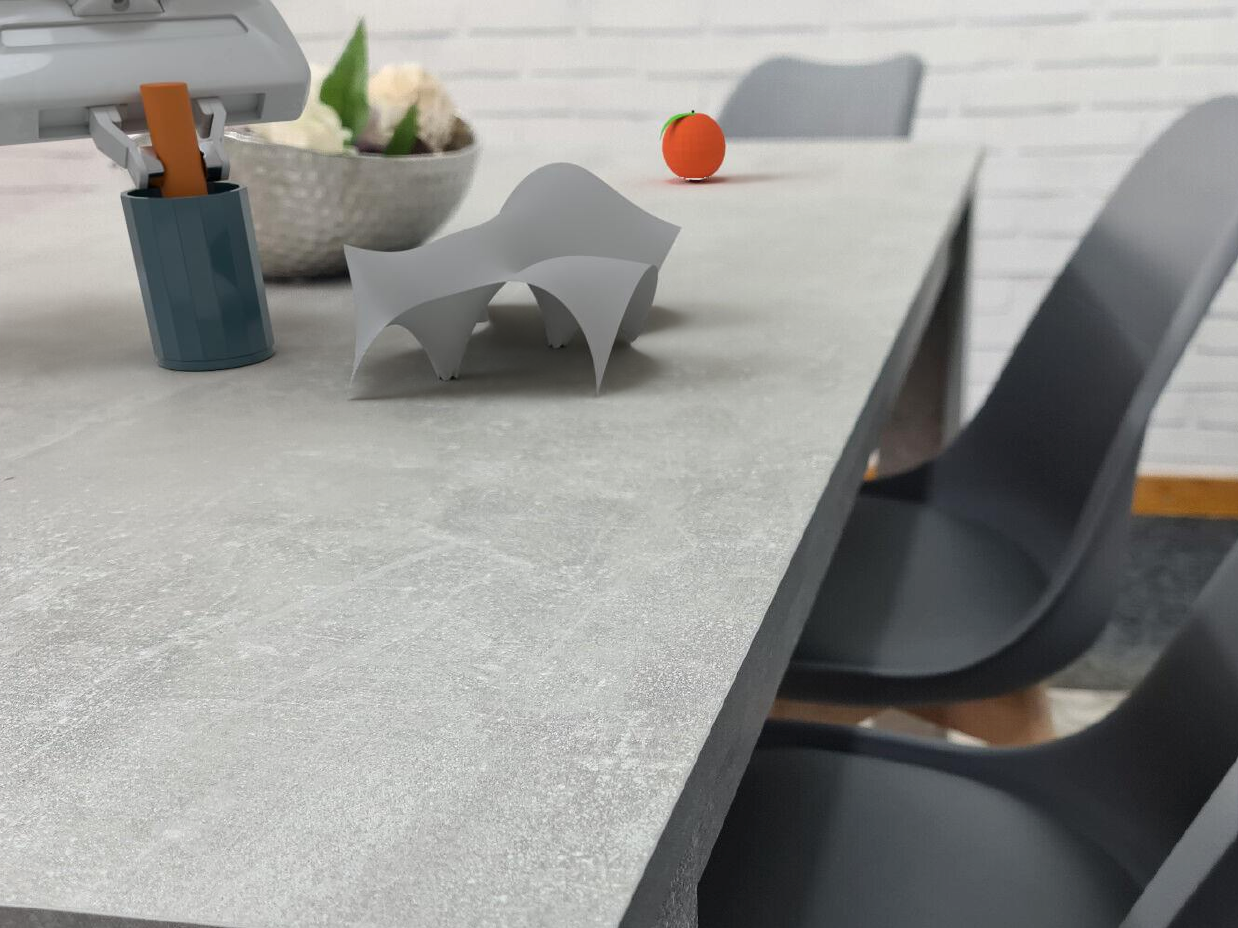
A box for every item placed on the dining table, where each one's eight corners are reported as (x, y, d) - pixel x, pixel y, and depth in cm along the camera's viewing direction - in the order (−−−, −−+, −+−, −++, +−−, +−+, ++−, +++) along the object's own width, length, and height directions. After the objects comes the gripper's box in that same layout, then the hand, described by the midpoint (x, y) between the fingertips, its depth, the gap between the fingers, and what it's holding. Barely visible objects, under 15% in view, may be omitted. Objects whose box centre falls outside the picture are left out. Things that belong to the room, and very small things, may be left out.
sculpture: (660, 396, 81) (651, 214, 76) (328, 399, 82) (299, 219, 77) (691, 301, 103) (686, 155, 98) (429, 304, 104) (411, 160, 99)
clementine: (681, 188, 152) (678, 115, 149) (642, 182, 157) (639, 111, 154) (739, 180, 157) (738, 109, 153) (700, 174, 161) (698, 105, 158)
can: (157, 376, 87) (119, 202, 82) (156, 350, 93) (120, 186, 88) (279, 363, 89) (249, 192, 85) (271, 338, 95) (242, 178, 90)
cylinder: (180, 284, 88) (139, 86, 82) (179, 276, 90) (139, 83, 84) (224, 280, 88) (187, 84, 83) (222, 272, 90) (186, 81, 85)
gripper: (-93, -46, 80) (-1, 158, 78) (263, -53, 90) (353, 126, 88) (-85, 41, 85) (1, 234, 83) (251, 25, 96) (335, 195, 94)
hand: (185, 178), depth 86 cm, fingers closed on cylinder, 2 cm apart
